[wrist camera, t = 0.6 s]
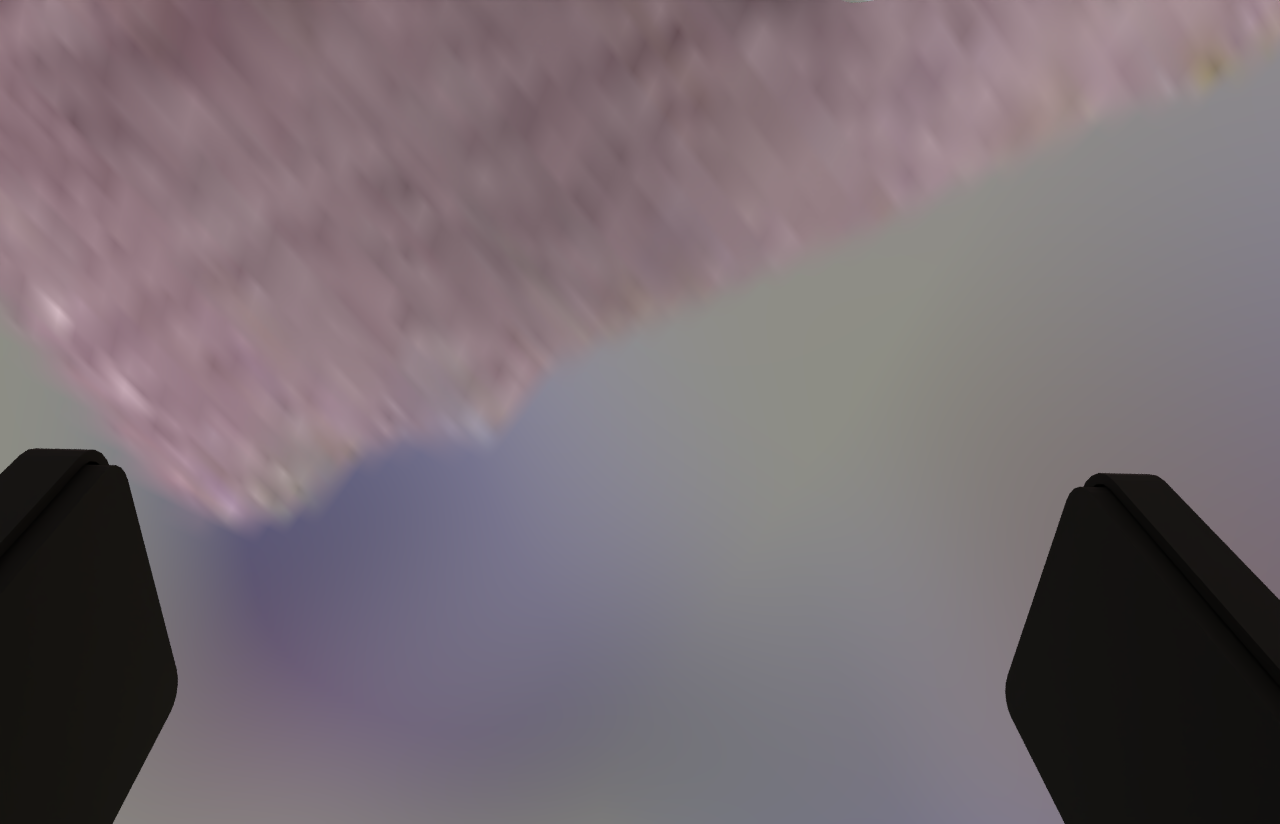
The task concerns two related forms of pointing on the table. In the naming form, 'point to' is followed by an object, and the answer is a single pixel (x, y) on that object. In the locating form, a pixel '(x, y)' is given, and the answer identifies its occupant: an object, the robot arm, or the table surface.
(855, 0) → the photo printer
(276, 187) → the table surface
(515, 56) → the table surface
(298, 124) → the table surface
